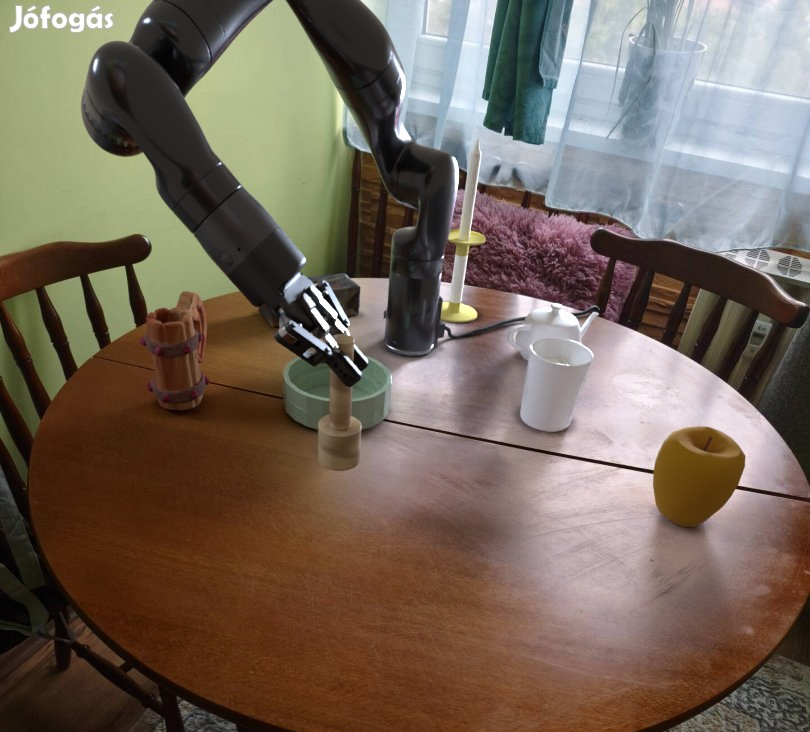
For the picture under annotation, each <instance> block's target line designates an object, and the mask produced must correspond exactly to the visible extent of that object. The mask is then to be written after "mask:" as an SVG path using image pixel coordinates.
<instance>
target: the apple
mask: <svg viewBox="0 0 810 732" xmlns="http://www.w3.org/2000/svg"><path fill="white" fill-rule="evenodd" d="M745 468H746V454H745V452H744V451H743V449H742V448H741V447H740V445H739V444H738V443H737V442H736V441H735V439H733V438H732V437H731V436H729V435H728V434H726V433H725V432H723V431H721V430H719V429H716V428H713V427H710V426H703V425H702V426H699V425H698V426H686V427H683V428H680V429H677V430H674V431H672V432H671V433H670V434H669V435H668V436H667V437H666V438H665V439H664V440H663V442H662V444H661V446H660V448H659V450H658V452H657V455H656V458H655V461H654V467H653V473H652V488H653V496H654V501H655V506H656V508H657V510H658V512H659V513H660V514H661V515H662V516H663V517H664V518H665V519H667V520H668V521H670V522H671V523H673V524H675V525H676V526H680V527H686V528H692V527H698V526H700V525H702V524H703V523H704V522H706V521H707V520H709V519H710V518H711V517H712V516H714V515H715V514H716V513H717V512H719V511H720V510H721V509H722V508H723V507H724V506H725V505H726V504H727V503H728V501H729V500H730V499H731V498H732V496H733V494H734V492H735V491H736V489H737V488H738V486H739V484H740V481H741V478H742V475H743V473H744V470H745Z"/></svg>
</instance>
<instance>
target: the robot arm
mask: <svg viewBox="0 0 810 732" xmlns="http://www.w3.org/2000/svg"><path fill="white" fill-rule="evenodd" d="M273 1H274V0H152V1H150V3H149V5H147V6H146V8H145V9H144V11H143V12H142V14H141V15H140V17H139V18H138V20H137V23H136V25H135V28H134V29H133V32H132V35H131V37H130V39H129V41H128V42H127V41H123V40H112V41H111V40H110V41H108V42H106V43H103V44H102V45H101V46H100V47H98V48H97V50H96V51H95V52H94V54H93V55H92V57H91V60H90V62H89V64H88V70H87V74H86V77H85V78H86V79H85V83H84V87H83V91H82V95H81V99H80V113H81V114H80V115H81V119H82V122H83V126H84V128H85V130H86V132H87V135H88V136H89V138H91V140H92V141H93V142H94V144H96V145H97V146H98V147H99V148H100V149H102V150H103V151H105V152H107V153H109V154H110V155H113V156H117V157H122V158H131V157H136V156H139V155H141V154H143V155H144V156H145V158H146V159H147V161H148V162H149V164H150V165H151V166H152V169H153V172H154V177H155V178H154V179H155V187H156V191H157V193H158V195H159V197H160V198H161V200H162V201H163V202H164V204H165V205H166V206H167V207H168V209H169V210H170V211H171V212H172V213H173V214H174V216H175V217H176V218H178V220H179V221H180V222H181V223H182V225H184V226H185V228H186V229H187V230H188V231H189V232H190V233H191V234H192V235H193V237H194V239H196V240H197V242H198V243H199V244H200V246H201V248H202V249H203V251H204V252H205V253H206V255H207V256H208V257H209V258H210V260H211V261H213V263H214V264H215V265H216V266H217V268H219V269H220V271H221V272H222V273H223V274H224V275H225V276H226V277H227V279H229V281H230V282H231V283H232V284H233V285H234V286H235V287H236V289H237V290H238V291H239V292H240V293H241V294H242V295H243V296H244V298H245V299H246V300H247V301H248V302H249V303H250V304H251V305H252V306H253V307H255V308H258V307H260V306H262V305H263V304H266V305H268V307H269V308H270V310H271V311H272V313H273V315H274V317H275V318H276V320H277V321H278V322H279V326H278V327H279V328H278V330H277V331H276V332H274V333H273V339H274V340H275V341H276V342H277V343H278V344H280V345H281V346H282V347H284V348H285V349H287V350H288V351H290V352H291V353H292V354H294V355H295V356H296V357H300V358H301V359H303V360H304V361H306V362H307V363H309V364H310V365H312V366H313V367H316V366H317V365H318V364H327V365H328V366H329V367H330V368H331V369H332V371H333V372H334V373H335V374H336V375H337V376H338V377H339V379H340V380H341V381H342V382H343V383H344V384H345V385H346V386H347V387H352V386H353V385H354V384H356V383H357V382H358V381H360V379H361V377H362V373H361V371H363V370H364V369H366V368H367V366H368V364H369V361H368V360H367V358H366V357H365V356H364V355H365V354H363V353H362V351H361V350H360V349H359V348H358V346H357V345H356V344H355V343H354V362H352V361H351V360H350V359H349V358H348V357H347V355H346V354H345V353H344V352H343V351H342V350H341V351H340V348H339V346H338V345H337V343H336V342H335V341H334V339H333V338H332V336H333V335H336V334H347V335H350V336H351V334H350V331H349V330H348V328H349V327H350V326H351V322H350V320H349V318H348V316H346V315H345V313H344V311H343V309H342V307H341V306H340V304H339V302H338V300H337V298H336V297H335V295H334V293H333V291H332V289H331V287H330V286H329V284H328V283H327V282H326V281H325V280H322V281H321V282H320V283H318V284H313V283H312V281H311V280H310V279H308V278H307V277H308V276H306V275H305V274H304V273H303V272H302V271H301V270H302V269H303V268H304V267H305V265H306V264H307V259H306V257H305V255H304V254H303V253H302V251H300V249H299V248H298V246H297V245H296V244H295V243H294V242H293V241H292V240H291V238H290V237H289V236H288V235H287V233H286V232H285V231H284V229H283V228H282V227H281V226H280V225H279V224H278V222H277V221H276V220H275V219H274V218H273V217H272V215H271V214H270V213H269V212H268V210H267V209H266V208H265V207H264V206H263V204H262V203H260V202H259V200H258V199H256V198H255V196H253V195H252V194H251V193H250V192H249V191H248V190H247V189H246V188H245V187H244V186H243V184H242V183H241V182H240V181H239V179H238V178H237V177H236V176H235V175H234V174H233V172H232V171H231V170H230V169H229V167H228V166H227V165H226V164H225V163H224V161H223V160H222V158H220V157H219V156H218V154H216V152H215V151H214V150H213V149H212V146H211V145H210V143H209V141H208V139H207V136H206V135H205V133H204V131H203V129H202V127H201V125H200V123H199V121H198V120H197V118H196V116H195V114H194V113H193V111H192V108H191V107H190V105H189V104H188V102H187V100H186V99H185V98H186V97H187V96H188V94H189V93H190V91H192V90H193V88H194V87H195V86H196V85H197V84H198V83H199V82H200V81H201V80H202V79H203V78H204V77H205V76H206V75H207V74H208V72H209V71H210V70H211V69H212V68H213V66H214V65H215V64H216V63H217V61H218V60H219V59H220V58H221V57H222V55H223V54H224V53H225V52H226V50H227V49H228V48H229V47H230V45H232V43H233V42H234V41H235V39H236V38H237V37H238V36H239V35H240V34H241V33H242V31H244V30H245V28H247V26H248V25H250V23H251V22H252V21H253V20H254V19H255V18H256V17H257V16H258V15H259V14H260V13H262V12H263V10H265V9H266V8H267V7H268V6H269V5H270V4H271V3H272V2H273ZM285 2H286V4H287V5H288V7H289V8H290V10H291V11H292V13H293V14H294V16H295V17H296V19H297V21H298V23H299V24H300V26H301V28H302V29H303V31H304V33H305V34H306V37H307V38H308V40H309V41H310V43H311V45H312V46H313V48H314V50H315V51H316V53H317V55H318V56H319V58H320V60H321V62H322V64H323V66H324V67H325V70H326V72H327V74H328V76H329V78H330V80H331V82H332V83H333V85H334V87H335V89H336V91H337V92H338V94H339V96H340V98H341V100H342V102H343V103H344V105H345V107H346V108H347V110H348V112H349V113H350V114H351V117H352V118H353V120H354V122H355V124H356V126H357V128H358V130H359V132H360V133H361V136H362V137H363V139H364V141H365V143H366V145H367V146H368V148H369V151H370V153H371V156H372V158H373V160H374V163H375V165H376V167H377V170H378V172H379V176H380V178H381V180H382V183H383V185H384V187H385V190H386V191H387V193H388V194H389V196H390V198H391V199H392V200H393V201H394V202H396V203H397V204H399V205H401V206H403V207H407V208H409V209H412V210H415V211H418V214H417V220H416V223H415V225H413V226H405V227H401V228H399V229H397V230H395V231H394V232H393V234H392V236H391V245H390V257H389V258H390V260H389V275H388V287H387V300H386V301H387V302H386V309H385V310H383V320H385V326H384V337H383V346H384V348H386V349H387V350H388V351H390V352H392V353H394V354H397V355H401V356H405V357H420V356H421V357H422V356H425V355H428V354H430V353H431V352H432V351H433V350H434V349H435V348H438V343H439V339H441V338H444V337H445V332H447V336H448V337H449V338H451V339H461V338H467V337H470V336H473V335H476V334H478V333H483V332H486V331H489V330H491V329H494V328H497V327H500V326H504V325H507V324H513V323H517V322H523V321H524V320H525V318H526V317H527V316H528V315H526V316H521V317H516V318H510V319H506V320H501V321H498V322H494V323H492V324H489V325H486V326H482V327H479V328H476V329H473V330H470V331H468V332H465V333H463V334H453V333H452V329H451V328H450V327H449V326H448V325H446V323H445V322H443V321H442V320H441V312H442V304H443V302H444V299H443V297H442V296H441V295H440V292H441V284H442V274H443V266H444V257H445V251H446V247H447V243H448V238H449V234H450V230H451V229H452V224H453V219H454V211H455V206H456V201H457V196H458V195H457V194H458V188H459V179H460V170H459V164H458V161H457V159H456V157H455V156H454V155H453V154H452V153H451V152H447V151H444V150H441V149H437V148H434V147H431V146H426V145H422V144H419V143H418V142H416V141H414V139H413V138H412V137H411V136H410V134H409V133H408V130H407V129H406V126H405V124H404V122H403V120H402V116H401V115H402V111H403V107H404V104H405V100H406V99H405V97H406V92H407V79H406V73H405V69H404V67H403V66H404V65H403V64H402V61H401V59H400V56H399V54H398V52H397V50H396V47H395V45H394V43H393V40H392V38H391V36H390V34H389V32H388V30H387V28H386V27H385V25H384V24H383V23H382V21H381V20H380V18H378V16H377V15H376V14H375V13H374V12H373V11H372V10H371V8H370V7H368V6H367V5H366V4H365V3H364V2H363V1H362V0H285ZM593 310H595V312H600V311H601V309H600V308H599V306H597V305H592V306H589V308H587V309H585V310H583V311H577V312H569V313H570V314H572V315H574V316H575V317H579V316H584V315H587V314H589V313H590V312H592V311H593ZM309 350H310V351H309ZM312 353H313V354H312Z"/></svg>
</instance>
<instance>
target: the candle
mask: <svg viewBox="0 0 810 732" xmlns="http://www.w3.org/2000/svg"><path fill="white" fill-rule="evenodd" d="M482 153H483V152H482V150H481V148H480V140H479V138H477V139H476V141H475V143H474V146H473V148H472V149H471V150H470V152H469V158H468V164H467V171H466V173H467V174H466V179H465V187H464V195H463V202H462V208H461V209H462V210H461V217H460V223H459V228H451V230H450V234H449V238H448V240H447V242H449V243H453V244H456V247H455V253H454V254H455V255H454V261H453V269H452V276H451V283H450V284H451V285H450V292H449V298H448V301H443V304H442V312H441V319H440V321H445V322H449V323H455V324H456V323H457V324H459V323H463V324H464V323H470V322H473V321H475V320H476V319H477V318H478V312H477V311H476V309H475V308H473V307H472V306H470V305H468V304H464V303H462V298H463V290H464V285H465V278H466V270H467V263H468V257H469V250H470V246H478V245H479V246H480V245H483V244H485V242H486V239H487V238H486V236H485V235H484V234H482V233H479V231H478V232H477V231H473V230H472V225H473V215H474V209H475V203H476V196H477V195H476V194H477V189H478V188H477V187H478V182H479V174H480V167H481V163H482V162H481V160H482Z"/></svg>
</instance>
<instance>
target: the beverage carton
mask: <svg viewBox="0 0 810 732" xmlns="http://www.w3.org/2000/svg"><path fill="white" fill-rule="evenodd" d="M306 277H307V278H308V279H310V280H311V281H312V283H313V284H318V283H320V282H321V281H322V280H325V281H326V282H327V283H328V284H329V286H330V287H331V289H332V291H333V293H334V295H335V297H336V298H337V300H338V302H339V304H340V306H341V307H342V309H343V311H344V313H345V315H346V317H350V316H358V315H359V313H360V306H361V289H362V288H361V286H360V285H359V284H358V283H356V282H355V281H354V280H353V279H352V278H350V277H349V276H348V274H346V273H334V274H324V275H323V274H322V275H312V276H306ZM257 308H258V313H260V314H261V316H263V318H264V319H265V320H266V321H267V322H268V323H269V324H270V326H271V327H279V322H278V321H277V320H276V318H275V317H274V315H273V313H272V311H271V310H270V308H269V307H268V305H266V304H263V305H262V306H260V307H257Z"/></svg>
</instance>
